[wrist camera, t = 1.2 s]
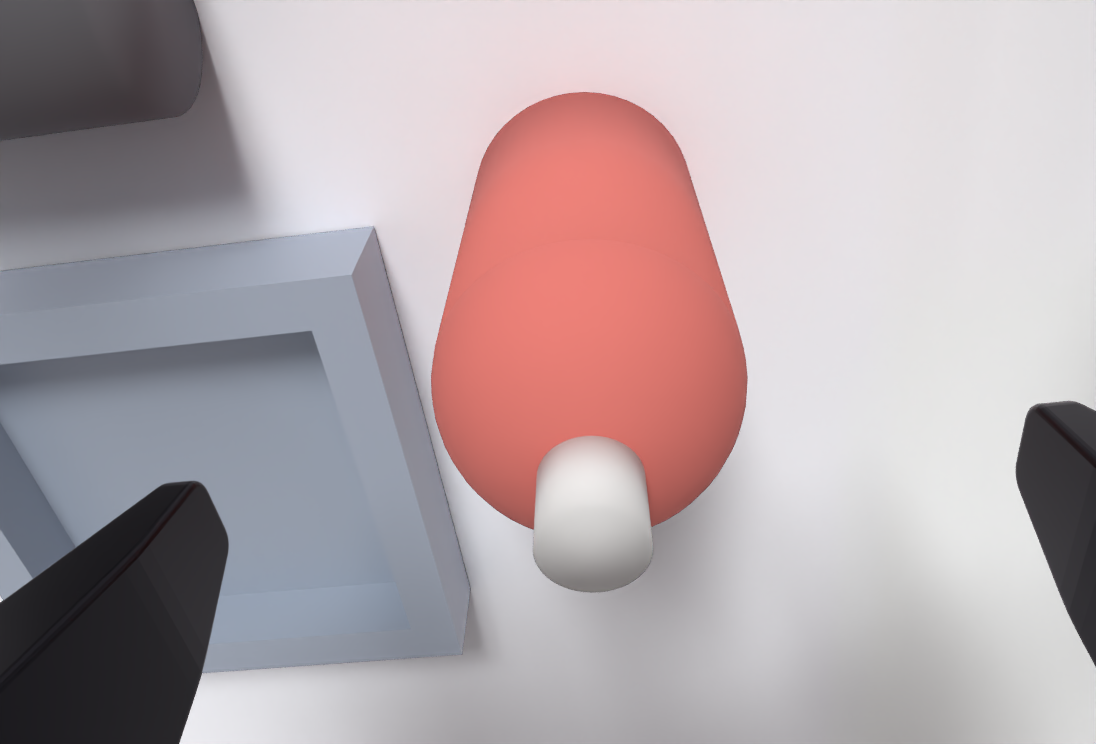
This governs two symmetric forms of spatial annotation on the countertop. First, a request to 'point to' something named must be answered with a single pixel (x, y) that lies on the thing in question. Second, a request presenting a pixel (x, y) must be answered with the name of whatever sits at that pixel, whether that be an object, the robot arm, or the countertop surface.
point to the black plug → (95, 63)
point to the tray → (237, 439)
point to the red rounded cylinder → (587, 338)
